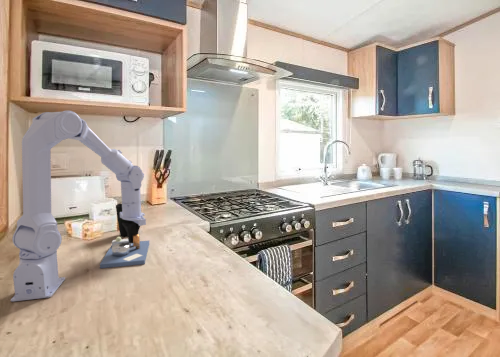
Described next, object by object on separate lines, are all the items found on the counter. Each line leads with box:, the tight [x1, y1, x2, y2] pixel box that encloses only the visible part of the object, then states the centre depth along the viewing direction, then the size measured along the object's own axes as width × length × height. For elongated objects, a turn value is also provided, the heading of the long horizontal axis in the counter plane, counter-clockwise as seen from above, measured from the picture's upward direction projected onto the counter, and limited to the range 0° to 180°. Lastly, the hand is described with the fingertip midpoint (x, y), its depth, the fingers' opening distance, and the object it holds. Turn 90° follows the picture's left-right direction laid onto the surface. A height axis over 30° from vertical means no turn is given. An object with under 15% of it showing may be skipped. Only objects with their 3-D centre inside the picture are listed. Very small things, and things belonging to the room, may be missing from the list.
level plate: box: [99, 236, 150, 269], centre depth 91 cm, size 18×12×4 cm, turn 15°
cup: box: [115, 203, 128, 238], centre depth 111 cm, size 8×8×12 cm
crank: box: [112, 233, 141, 256], centre depth 90 cm, size 9×5×4 cm, turn 147°
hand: (133, 242), depth 94 cm, fingers closed, pressing on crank
